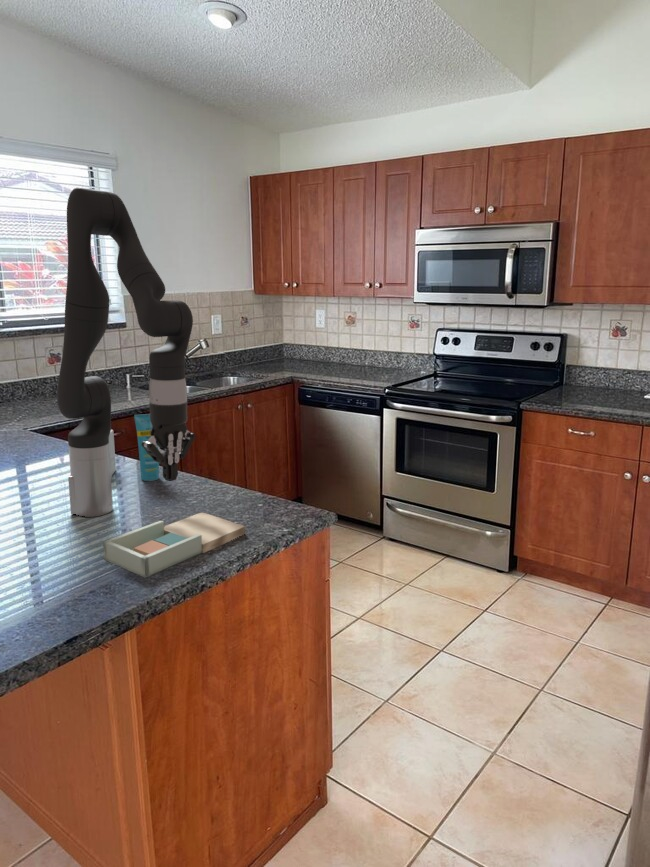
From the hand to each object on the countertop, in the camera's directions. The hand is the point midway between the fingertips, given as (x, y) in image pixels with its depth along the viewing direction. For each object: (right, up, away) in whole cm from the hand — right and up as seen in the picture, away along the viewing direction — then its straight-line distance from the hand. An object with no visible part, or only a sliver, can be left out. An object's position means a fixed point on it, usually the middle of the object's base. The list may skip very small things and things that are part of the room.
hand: (170, 479), depth 136 cm
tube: (-17, -3, +48) cm, 51 cm away
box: (-3, -16, -1) cm, 16 cm away
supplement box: (-33, -2, +52) cm, 61 cm away
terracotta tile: (-3, -16, -2) cm, 16 cm away
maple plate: (+5, -13, +10) cm, 17 cm away
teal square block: (0, -15, +2) cm, 15 cm away
